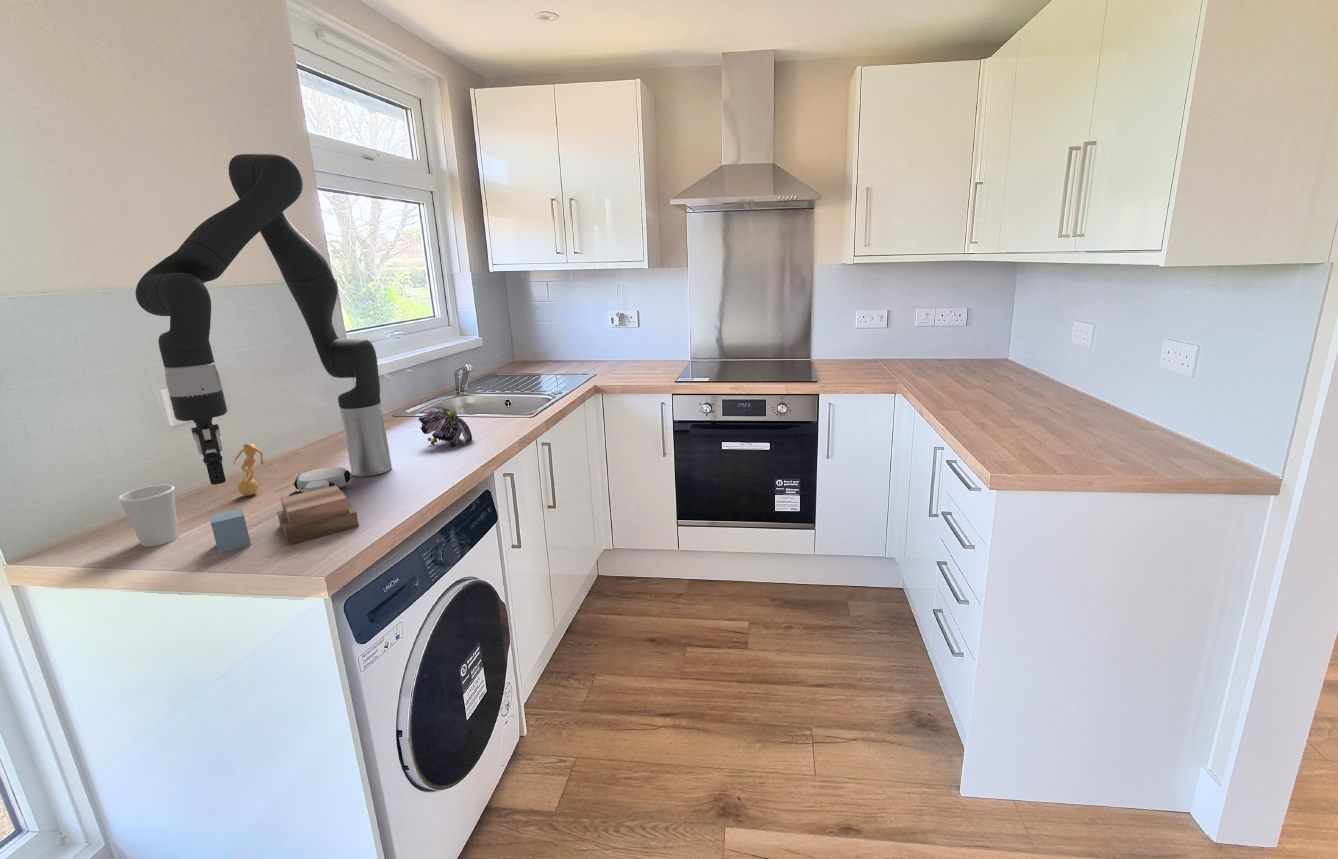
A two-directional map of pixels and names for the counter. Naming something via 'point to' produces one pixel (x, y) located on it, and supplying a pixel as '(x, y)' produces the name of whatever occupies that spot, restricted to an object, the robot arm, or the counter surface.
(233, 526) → the slate brick
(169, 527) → the dixie cup
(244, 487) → the figurine
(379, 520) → the counter surface
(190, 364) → the robot arm
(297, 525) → the wooden stepped block
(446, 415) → the decorative flower
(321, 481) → the robot toy
